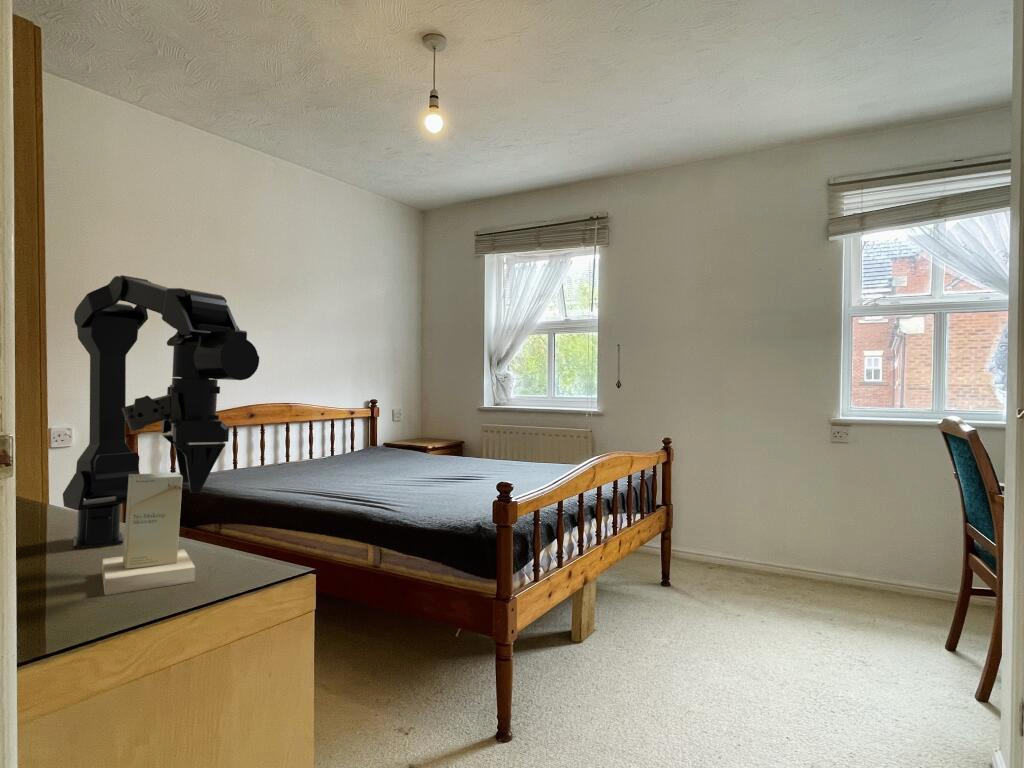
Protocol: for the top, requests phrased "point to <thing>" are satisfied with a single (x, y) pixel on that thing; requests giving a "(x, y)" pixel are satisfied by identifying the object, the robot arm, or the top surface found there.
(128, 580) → the birch plinth
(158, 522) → the skincare box
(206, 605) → the top surface
